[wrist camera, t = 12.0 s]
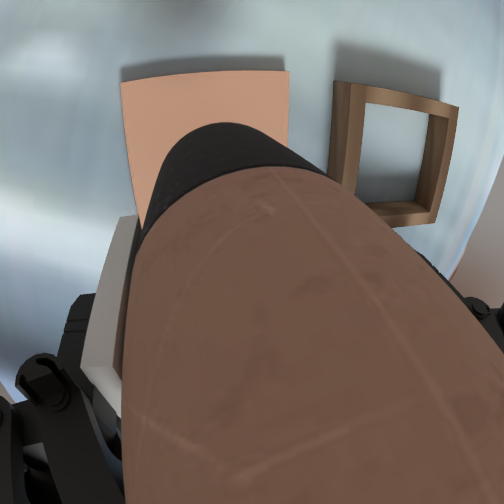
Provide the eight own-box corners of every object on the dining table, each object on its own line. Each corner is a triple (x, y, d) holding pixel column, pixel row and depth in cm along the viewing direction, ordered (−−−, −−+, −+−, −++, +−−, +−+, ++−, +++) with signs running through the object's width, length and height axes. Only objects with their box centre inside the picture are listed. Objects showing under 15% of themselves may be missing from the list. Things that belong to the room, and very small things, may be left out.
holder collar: (322, 219, 30) (334, 234, 27) (333, 80, 22) (351, 83, 19) (419, 211, 32) (434, 223, 30) (439, 101, 24) (458, 107, 22)
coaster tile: (142, 226, 26) (141, 231, 25) (122, 82, 18) (120, 82, 18) (280, 210, 28) (284, 214, 27) (285, 71, 21) (289, 71, 20)
